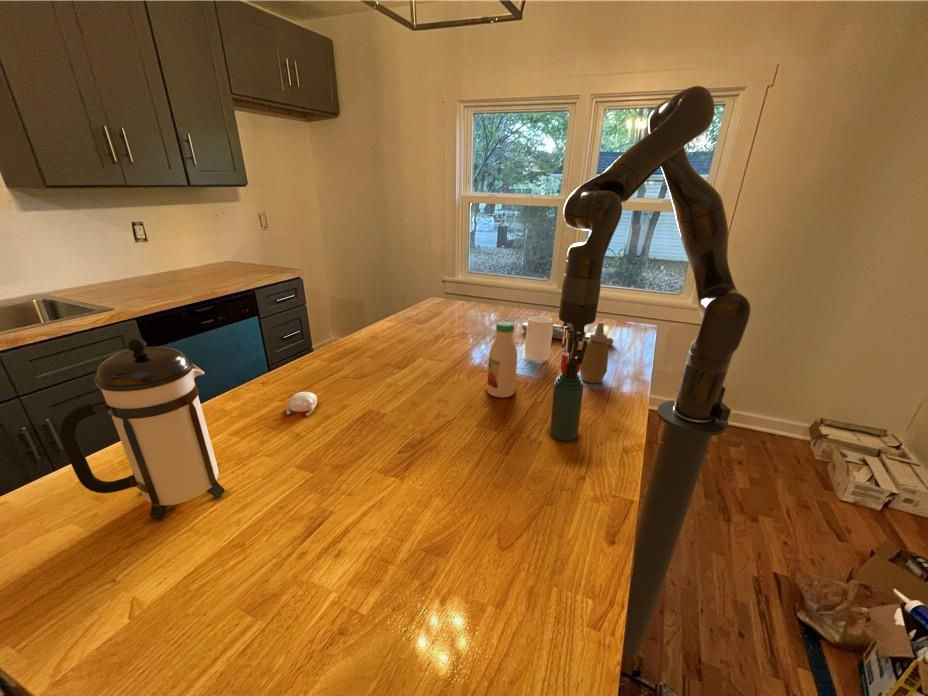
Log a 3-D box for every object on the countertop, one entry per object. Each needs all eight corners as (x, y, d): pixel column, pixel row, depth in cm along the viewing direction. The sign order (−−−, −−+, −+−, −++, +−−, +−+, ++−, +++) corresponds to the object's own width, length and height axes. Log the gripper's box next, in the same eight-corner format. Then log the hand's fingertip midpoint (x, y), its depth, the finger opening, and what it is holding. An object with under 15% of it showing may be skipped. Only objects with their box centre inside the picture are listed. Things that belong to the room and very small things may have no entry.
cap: (560, 373, 92) (561, 356, 90) (560, 365, 95) (562, 350, 93) (579, 374, 91) (581, 358, 89) (579, 367, 94) (581, 351, 93)
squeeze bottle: (587, 386, 124) (597, 327, 116) (572, 375, 131) (580, 319, 123) (610, 383, 126) (621, 325, 118) (594, 373, 133) (604, 317, 125)
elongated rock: (609, 353, 152) (612, 346, 161) (612, 339, 150) (616, 333, 159) (517, 332, 165) (525, 327, 173) (519, 319, 163) (527, 314, 171)
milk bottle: (513, 386, 122) (519, 320, 114) (515, 399, 115) (521, 328, 107) (486, 385, 123) (490, 319, 114) (487, 397, 116) (490, 327, 107)
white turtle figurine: (309, 417, 104) (307, 403, 102) (282, 415, 104) (280, 402, 102) (321, 402, 111) (319, 389, 109) (296, 400, 111) (294, 387, 110)
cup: (523, 354, 145) (527, 314, 139) (548, 356, 145) (552, 316, 139) (524, 364, 138) (528, 322, 132) (550, 365, 137) (555, 323, 131)
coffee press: (175, 462, 86) (129, 320, 73) (247, 473, 84) (212, 327, 71) (94, 523, 70) (17, 356, 58) (179, 538, 68) (119, 367, 55)
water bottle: (566, 423, 104) (574, 349, 95) (583, 436, 99) (593, 359, 90) (544, 430, 101) (550, 354, 93) (561, 443, 96) (568, 364, 88)
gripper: (555, 289, 92) (547, 361, 100) (567, 306, 80) (556, 388, 87) (590, 290, 92) (579, 362, 100) (607, 307, 79) (592, 389, 87)
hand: (568, 374), depth 93 cm, fingers closed on cap, 4 cm apart
